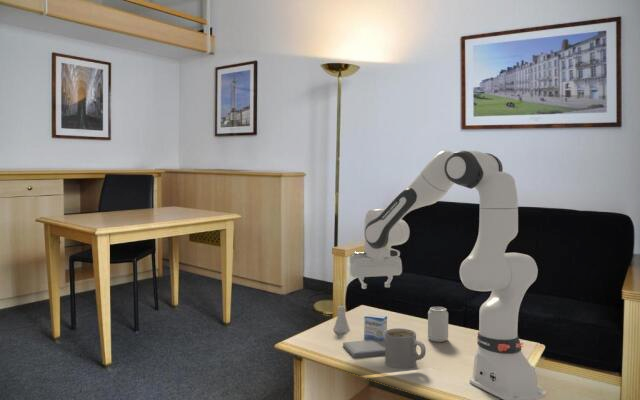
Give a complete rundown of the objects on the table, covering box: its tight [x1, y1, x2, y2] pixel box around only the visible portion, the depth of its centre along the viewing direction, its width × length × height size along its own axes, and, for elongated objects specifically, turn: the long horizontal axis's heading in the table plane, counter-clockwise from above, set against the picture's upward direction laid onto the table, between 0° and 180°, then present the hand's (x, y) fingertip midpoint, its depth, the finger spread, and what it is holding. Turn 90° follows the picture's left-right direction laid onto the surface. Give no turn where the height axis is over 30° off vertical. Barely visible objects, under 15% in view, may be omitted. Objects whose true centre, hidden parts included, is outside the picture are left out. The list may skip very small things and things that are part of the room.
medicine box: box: [363, 313, 388, 342], centre depth 192 cm, size 8×4×9 cm, turn 67°
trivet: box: [342, 339, 385, 359], centre depth 178 cm, size 12×12×2 cm
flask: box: [332, 305, 351, 334], centre depth 199 cm, size 7×7×10 cm
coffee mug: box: [384, 327, 427, 369], centre depth 164 cm, size 13×10×10 cm
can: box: [427, 306, 449, 343], centre depth 190 cm, size 8×8×12 cm
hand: (375, 287), depth 191 cm, fingers open, 8 cm apart
